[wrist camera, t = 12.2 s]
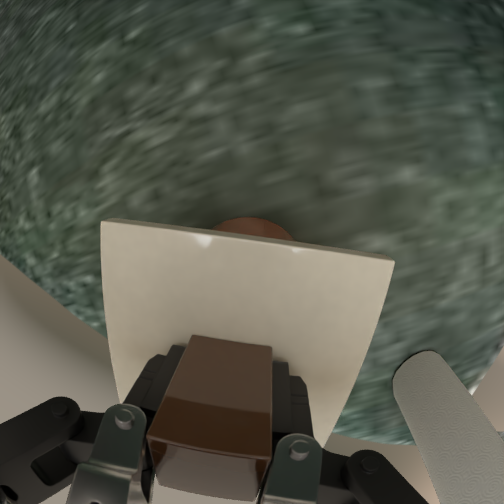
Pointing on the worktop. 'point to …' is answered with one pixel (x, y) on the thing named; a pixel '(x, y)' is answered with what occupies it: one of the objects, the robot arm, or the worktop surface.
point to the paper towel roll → (450, 432)
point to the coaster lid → (234, 339)
